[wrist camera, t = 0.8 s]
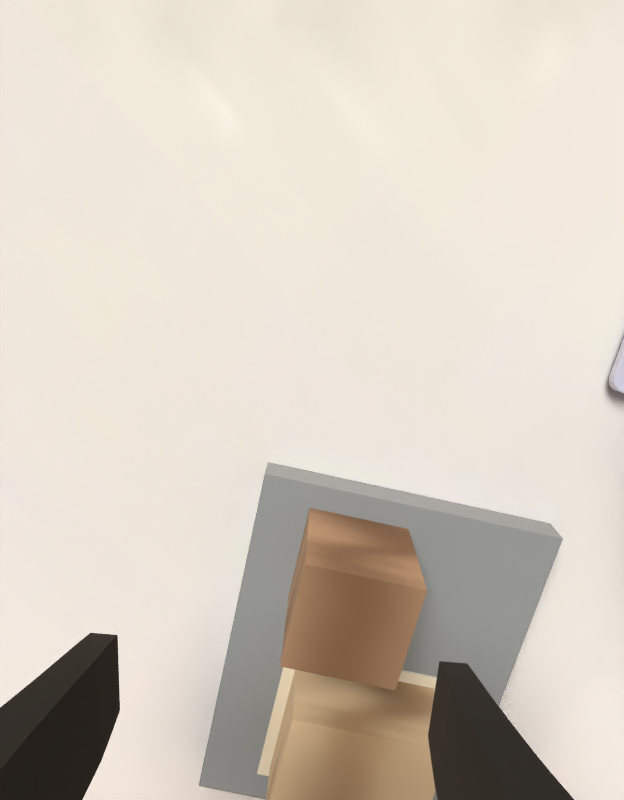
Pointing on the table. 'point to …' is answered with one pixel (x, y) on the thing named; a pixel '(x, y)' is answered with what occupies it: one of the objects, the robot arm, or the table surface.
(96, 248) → the table surface
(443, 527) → the build board
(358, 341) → the table surface
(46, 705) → the robot arm
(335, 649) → the walnut block
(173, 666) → the table surface
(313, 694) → the oak base
